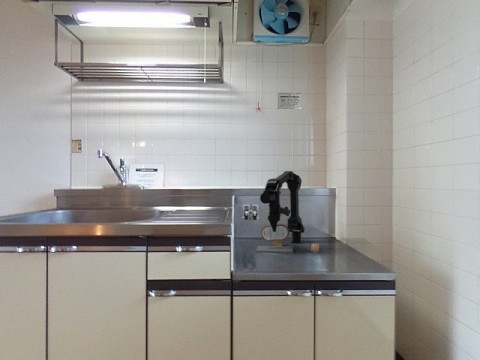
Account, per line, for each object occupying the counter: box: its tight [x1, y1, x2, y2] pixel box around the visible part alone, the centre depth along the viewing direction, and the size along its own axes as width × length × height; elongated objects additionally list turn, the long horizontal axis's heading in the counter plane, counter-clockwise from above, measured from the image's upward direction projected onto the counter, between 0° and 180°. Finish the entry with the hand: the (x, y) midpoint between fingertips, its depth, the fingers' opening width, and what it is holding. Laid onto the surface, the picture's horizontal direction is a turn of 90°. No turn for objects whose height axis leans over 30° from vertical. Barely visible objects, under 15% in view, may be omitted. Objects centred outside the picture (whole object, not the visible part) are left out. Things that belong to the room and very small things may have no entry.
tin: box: [260, 223, 290, 242], centre depth 176 cm, size 15×3×8 cm, turn 81°
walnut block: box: [272, 240, 283, 246], centre depth 188 cm, size 5×5×5 cm
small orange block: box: [310, 242, 320, 253], centre depth 172 cm, size 4×4×4 cm
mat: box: [255, 245, 294, 254], centre depth 176 cm, size 12×19×1 cm, turn 82°
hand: (274, 231), depth 176 cm, fingers closed on tin, 2 cm apart
